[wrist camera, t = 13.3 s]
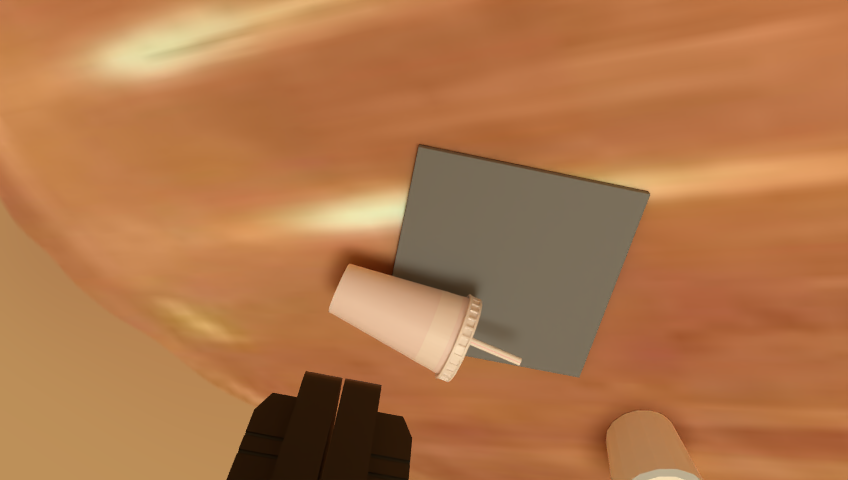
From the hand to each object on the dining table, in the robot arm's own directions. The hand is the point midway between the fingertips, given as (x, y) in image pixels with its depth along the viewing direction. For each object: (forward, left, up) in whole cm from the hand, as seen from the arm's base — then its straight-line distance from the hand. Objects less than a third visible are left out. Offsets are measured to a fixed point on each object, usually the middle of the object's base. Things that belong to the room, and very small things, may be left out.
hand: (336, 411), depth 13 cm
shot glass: (+36, +1, -33) cm, 49 cm away
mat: (+16, -2, -33) cm, 37 cm away
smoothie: (+11, -13, -30) cm, 35 cm away
